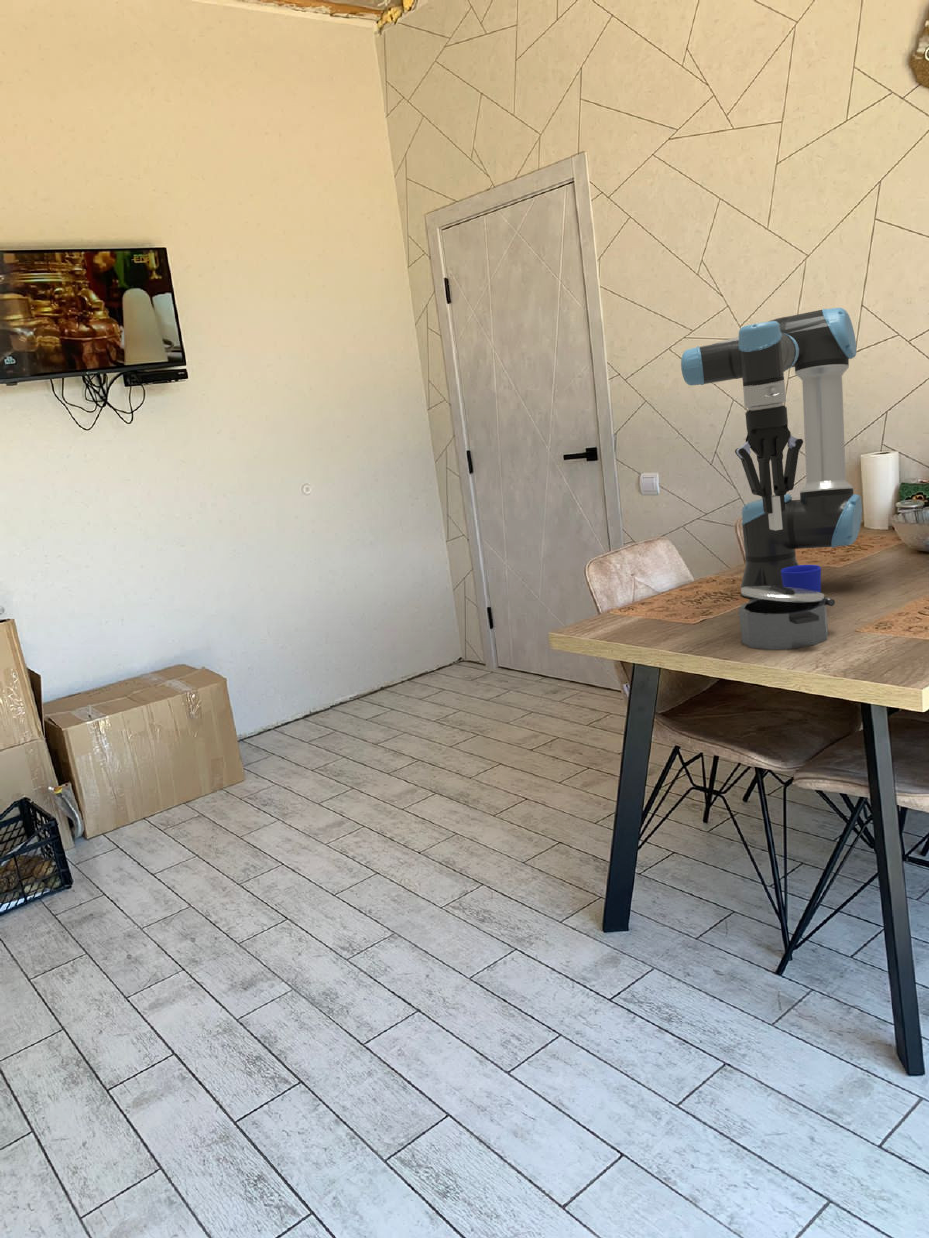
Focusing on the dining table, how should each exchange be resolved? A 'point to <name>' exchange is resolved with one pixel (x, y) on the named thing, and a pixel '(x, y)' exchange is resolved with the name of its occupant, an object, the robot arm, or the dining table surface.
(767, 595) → the lid
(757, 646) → the pot
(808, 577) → the mug
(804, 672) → the dining table surface
